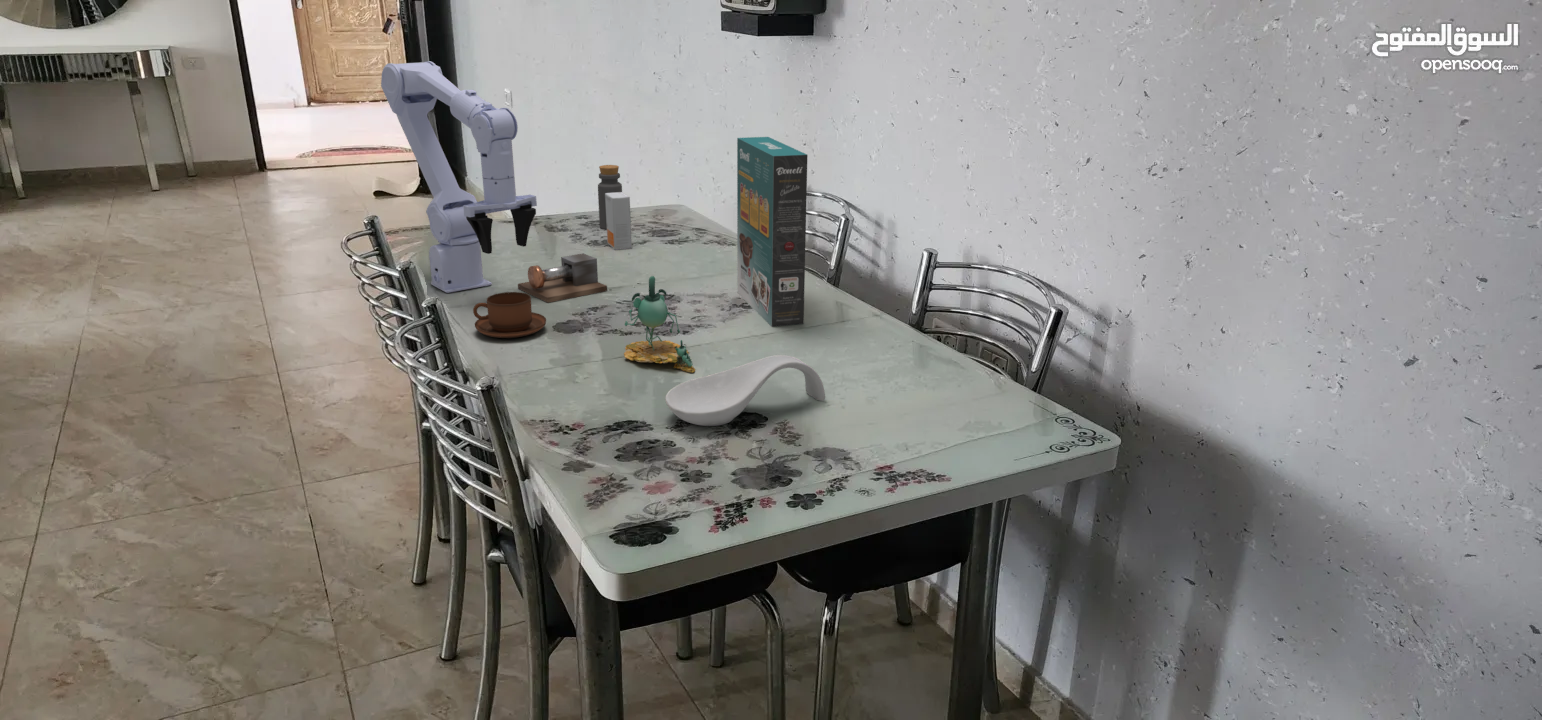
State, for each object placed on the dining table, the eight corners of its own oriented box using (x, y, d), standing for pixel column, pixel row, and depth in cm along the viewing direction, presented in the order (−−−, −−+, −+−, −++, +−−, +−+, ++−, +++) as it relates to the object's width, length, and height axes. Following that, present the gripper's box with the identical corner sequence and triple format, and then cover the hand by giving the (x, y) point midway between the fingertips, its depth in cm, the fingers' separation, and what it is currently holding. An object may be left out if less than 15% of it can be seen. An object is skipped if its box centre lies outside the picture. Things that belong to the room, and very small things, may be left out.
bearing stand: (547, 302, 191) (545, 273, 189) (518, 288, 200) (515, 260, 198) (607, 290, 199) (605, 262, 197) (576, 277, 207) (574, 250, 205)
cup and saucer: (480, 347, 168) (476, 311, 166) (471, 325, 178) (468, 292, 176) (552, 339, 172) (550, 304, 170) (540, 318, 183) (537, 285, 181)
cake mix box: (803, 323, 181) (807, 154, 170) (771, 326, 179) (773, 156, 169) (766, 290, 200) (768, 136, 190) (737, 292, 199) (737, 137, 188)
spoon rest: (687, 443, 134) (686, 392, 132) (652, 411, 144) (651, 364, 141) (838, 410, 145) (840, 363, 142) (796, 383, 154) (797, 339, 152)
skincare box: (606, 244, 234) (604, 192, 230) (624, 242, 236) (622, 191, 232) (614, 250, 229) (612, 197, 225) (632, 248, 231) (630, 196, 226)
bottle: (621, 229, 248) (619, 168, 243) (597, 229, 248) (594, 168, 243) (625, 224, 253) (622, 164, 248) (602, 224, 253) (599, 164, 248)
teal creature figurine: (652, 383, 154) (643, 287, 150) (608, 359, 169) (599, 272, 165) (709, 371, 158) (701, 278, 154) (661, 349, 173) (653, 264, 169)
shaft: (539, 291, 193) (537, 268, 192) (528, 286, 197) (527, 264, 195) (581, 283, 199) (580, 261, 198) (570, 278, 202) (569, 256, 201)
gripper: (476, 184, 178) (483, 259, 183) (544, 174, 188) (549, 245, 193) (454, 179, 183) (461, 253, 187) (521, 170, 193) (527, 239, 198)
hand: (504, 249), depth 191 cm, fingers open, 7 cm apart
